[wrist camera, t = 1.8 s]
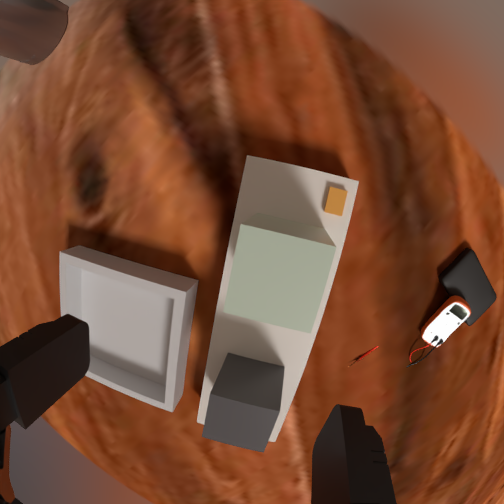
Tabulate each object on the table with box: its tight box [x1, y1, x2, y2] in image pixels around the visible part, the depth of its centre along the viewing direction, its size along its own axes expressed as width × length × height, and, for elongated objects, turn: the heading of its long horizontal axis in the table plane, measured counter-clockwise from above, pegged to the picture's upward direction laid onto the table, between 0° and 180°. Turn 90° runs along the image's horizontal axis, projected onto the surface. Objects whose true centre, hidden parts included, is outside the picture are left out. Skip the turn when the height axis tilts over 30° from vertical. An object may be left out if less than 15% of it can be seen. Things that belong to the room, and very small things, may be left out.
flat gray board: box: [197, 155, 359, 442], centre depth 27 cm, size 28×9×4 cm, turn 168°
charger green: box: [223, 213, 336, 334], centre depth 22 cm, size 5×5×10 cm
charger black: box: [202, 353, 285, 452], centre depth 26 cm, size 5×5×9 cm
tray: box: [60, 245, 199, 412], centre depth 31 cm, size 15×15×4 cm
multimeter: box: [350, 248, 496, 367], centre depth 26 cm, size 18×12×3 cm, turn 128°
